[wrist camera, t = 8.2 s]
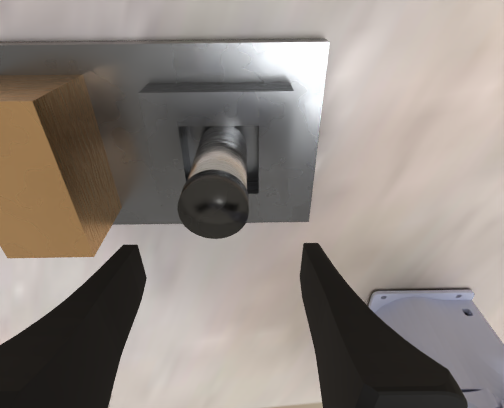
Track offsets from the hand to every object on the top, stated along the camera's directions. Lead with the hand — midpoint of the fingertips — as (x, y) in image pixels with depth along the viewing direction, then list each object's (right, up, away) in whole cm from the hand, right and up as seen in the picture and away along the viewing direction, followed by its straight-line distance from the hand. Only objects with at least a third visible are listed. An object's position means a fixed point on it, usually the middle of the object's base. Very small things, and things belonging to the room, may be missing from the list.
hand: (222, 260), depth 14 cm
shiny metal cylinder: (0, +6, +6) cm, 9 cm away
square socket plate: (-5, +7, +7) cm, 11 cm away
